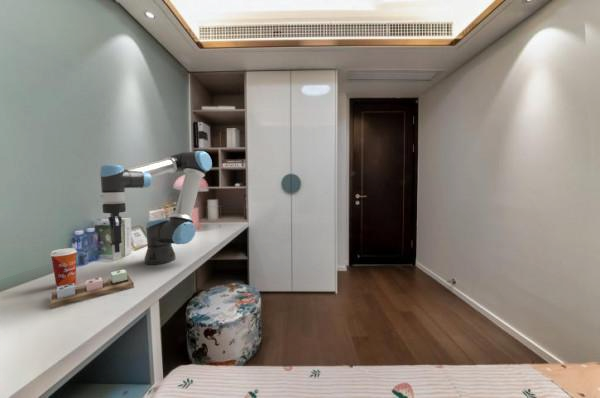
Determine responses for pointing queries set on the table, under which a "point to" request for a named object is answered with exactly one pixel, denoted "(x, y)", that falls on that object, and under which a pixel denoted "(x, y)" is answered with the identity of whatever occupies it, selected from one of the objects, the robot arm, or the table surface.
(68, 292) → the key three
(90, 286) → the key two
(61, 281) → the coffee cup
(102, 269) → the table surface
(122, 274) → the key one
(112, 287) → the wooden tray
